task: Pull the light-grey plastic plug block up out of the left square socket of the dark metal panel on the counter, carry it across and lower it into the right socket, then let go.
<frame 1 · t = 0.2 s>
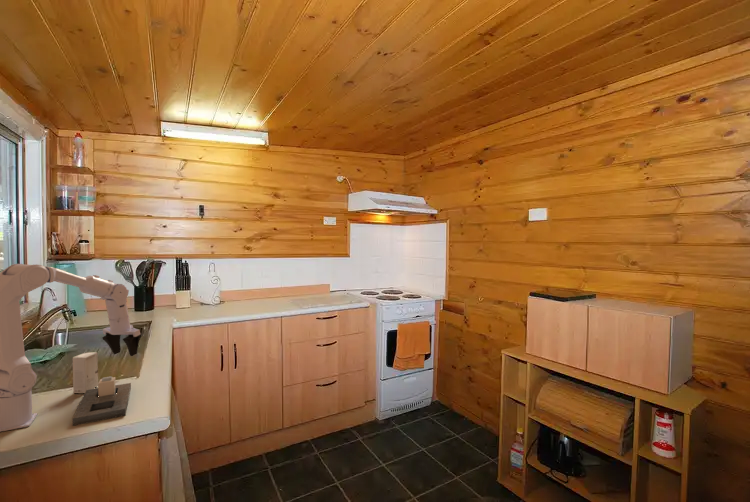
hand: (125, 353, 130), 11 cm above the countertop, tool pointing down, fingers open, 7 cm apart
plug: (107, 398, 118), resting in panel
panel: (105, 405, 113), on the countertop
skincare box: (86, 390, 124), on the countertop
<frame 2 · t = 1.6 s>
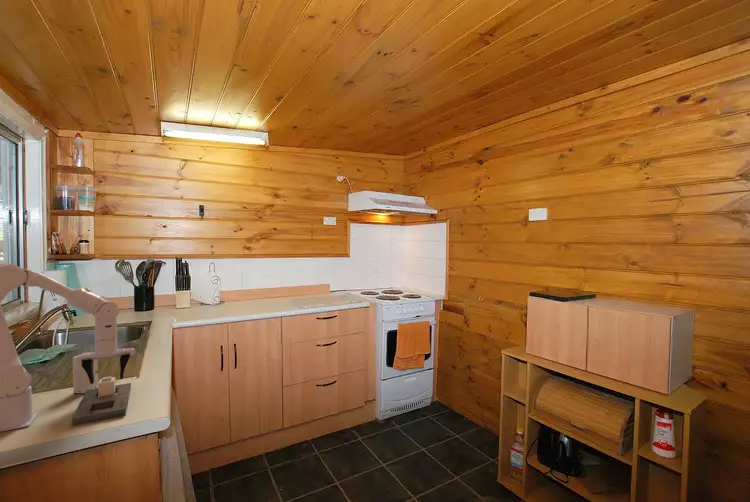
hand: (107, 380, 118), 6 cm above the countertop, tool pointing down, fingers open, 7 cm apart
nothing on the countertop moved.
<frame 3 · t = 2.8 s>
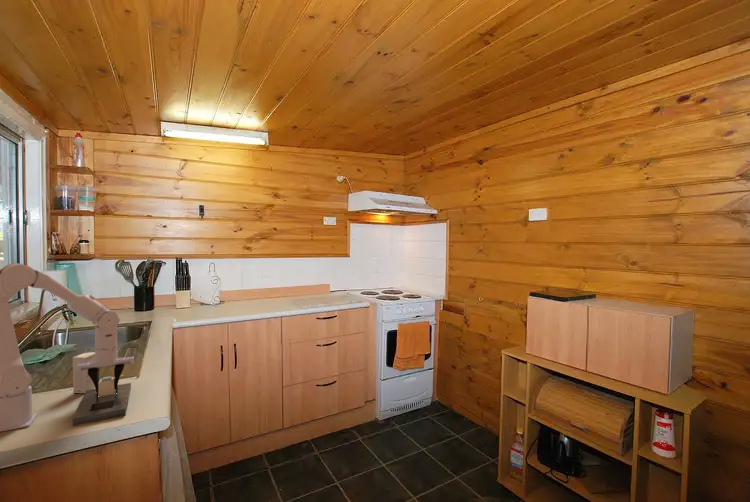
hand: (107, 389, 118), 3 cm above the countertop, tool pointing down, fingers closed on plug, 4 cm apart
plug: (107, 398, 118), resting in panel, touching gripper
everything else where it was.
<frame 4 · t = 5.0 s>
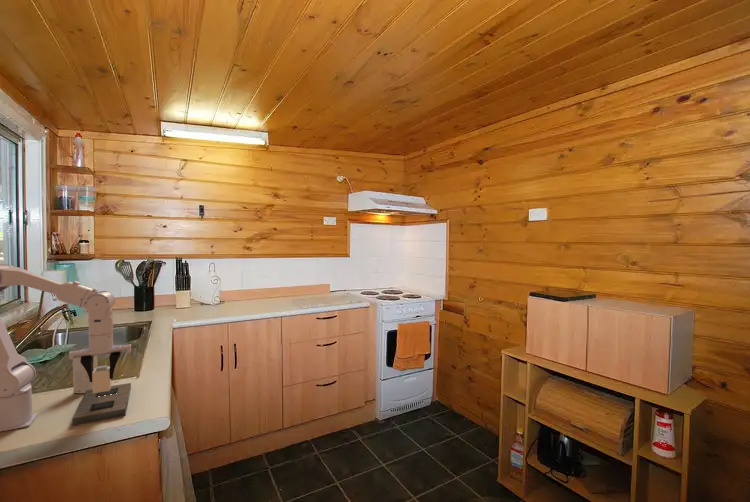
hand: (101, 379, 108), 10 cm above the countertop, tool pointing down, fingers closed on plug, 4 cm apart
plug: (102, 389, 109), point 7 cm above the countertop, touching gripper
everything else where it was.
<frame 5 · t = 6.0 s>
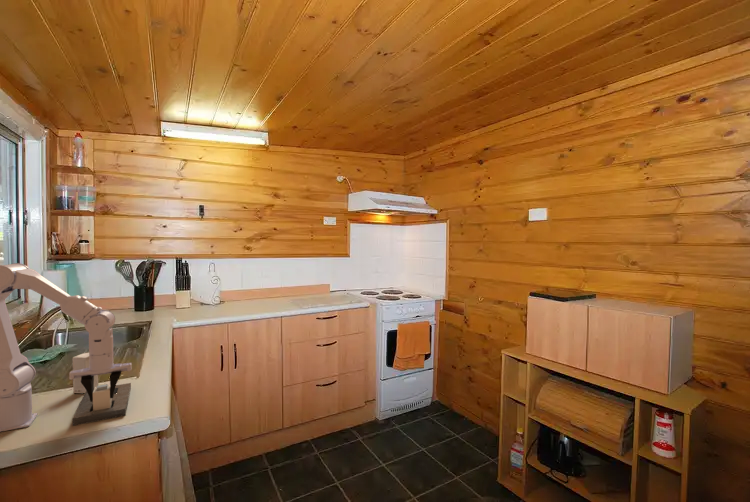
hand: (102, 398, 108), 4 cm above the countertop, tool pointing down, fingers closed on plug, 4 cm apart
plug: (102, 408, 109), point 1 cm above the countertop, touching gripper
everything else where it was.
when the fingers open (4 cm above the countertop, at t = 6.9 s): plug stays where it is, resting in panel.
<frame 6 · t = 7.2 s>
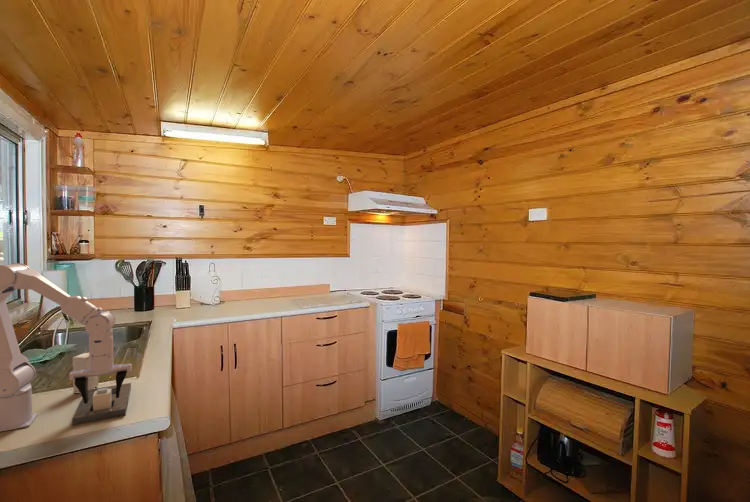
hand: (102, 399, 108), 4 cm above the countertop, tool pointing down, fingers open, 7 cm apart
plug: (102, 412, 109), resting in panel
everything else where it was.
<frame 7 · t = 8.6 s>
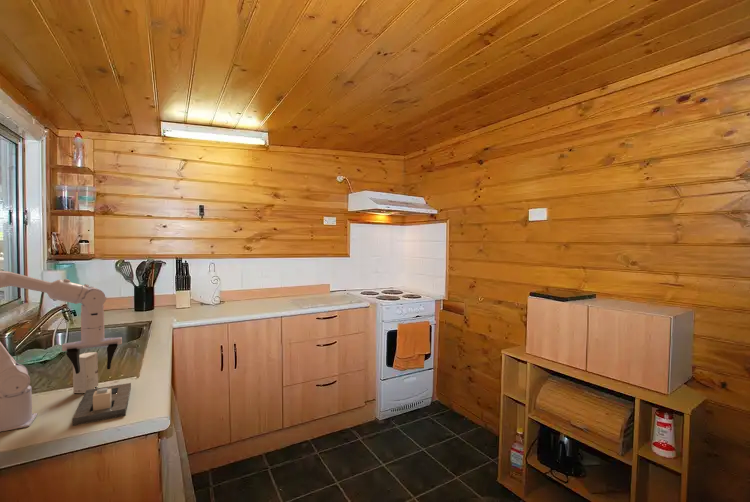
hand: (93, 370, 114), 10 cm above the countertop, tool pointing down, fingers open, 7 cm apart
nothing on the countertop moved.
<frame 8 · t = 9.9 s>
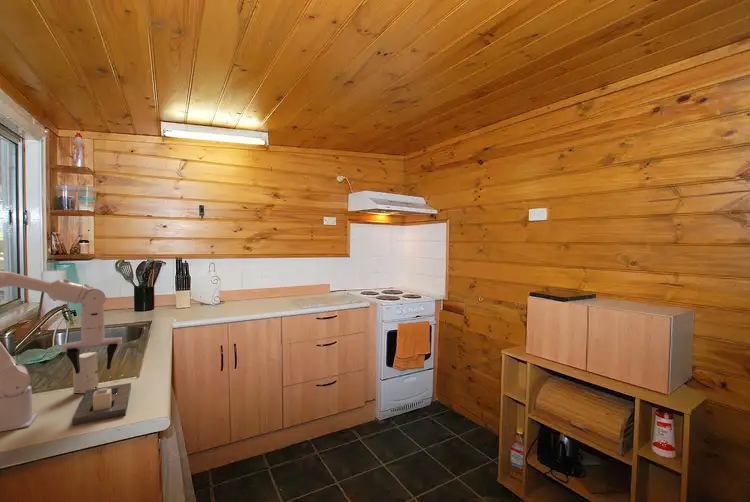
hand: (93, 370, 114), 10 cm above the countertop, tool pointing down, fingers open, 7 cm apart
nothing on the countertop moved.
at the end: plug 0.4 cm from the target spot on the panel, point 0.0 cm above the panel's base; plug tilted 0°; the gripper is holding nothing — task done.
